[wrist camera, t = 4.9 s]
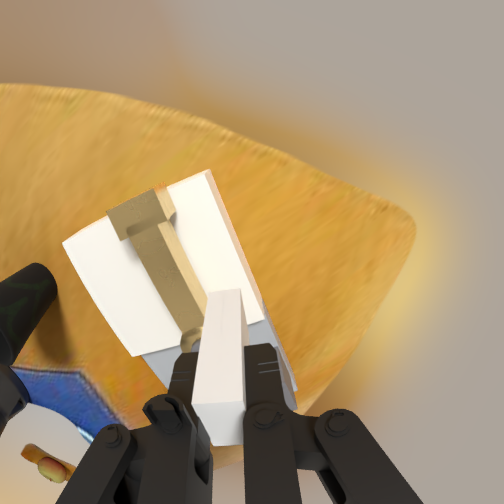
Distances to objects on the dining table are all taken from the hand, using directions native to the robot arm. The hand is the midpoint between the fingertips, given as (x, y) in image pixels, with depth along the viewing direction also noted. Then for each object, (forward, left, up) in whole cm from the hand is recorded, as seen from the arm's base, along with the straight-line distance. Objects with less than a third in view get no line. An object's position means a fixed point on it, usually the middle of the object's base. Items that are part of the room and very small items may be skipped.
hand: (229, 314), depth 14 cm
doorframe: (-7, -8, -15) cm, 18 cm away
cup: (-25, +3, -15) cm, 30 cm away
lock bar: (-5, -1, -10) cm, 11 cm away
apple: (-80, -47, -15) cm, 94 cm away
